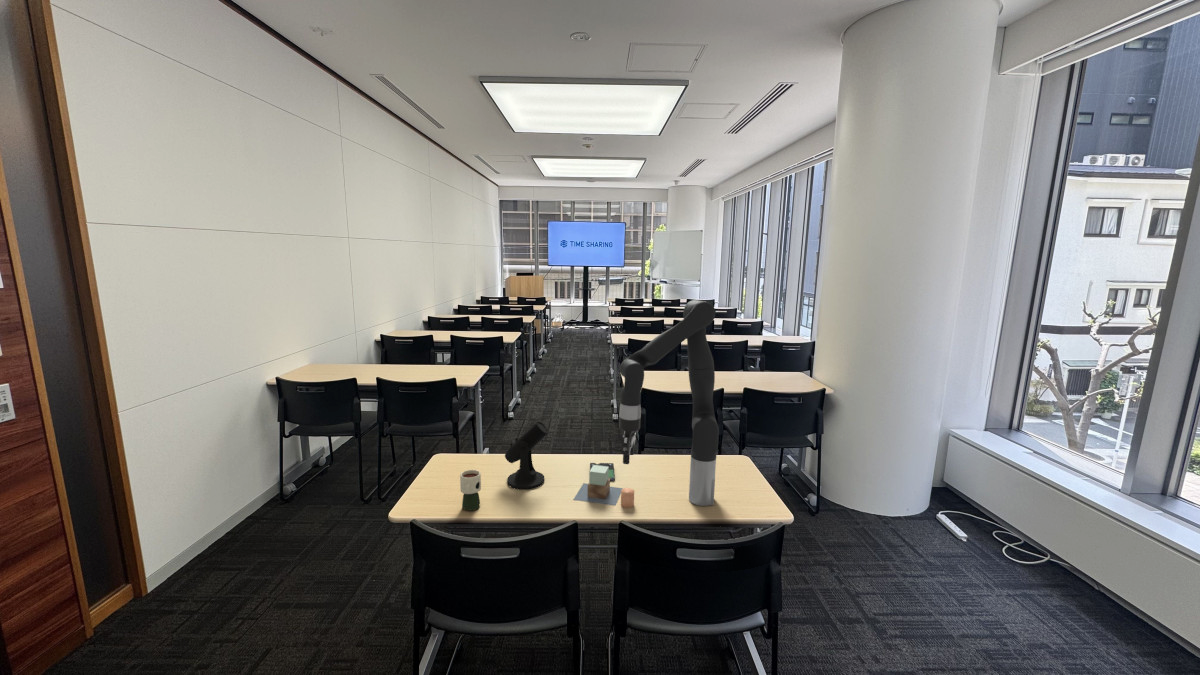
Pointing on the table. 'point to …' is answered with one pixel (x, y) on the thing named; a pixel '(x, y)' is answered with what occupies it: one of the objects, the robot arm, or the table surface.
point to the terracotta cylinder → (627, 497)
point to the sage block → (598, 475)
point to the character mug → (470, 489)
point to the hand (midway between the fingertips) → (628, 458)
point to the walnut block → (599, 490)
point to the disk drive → (611, 469)
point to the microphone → (526, 459)
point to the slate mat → (610, 499)
